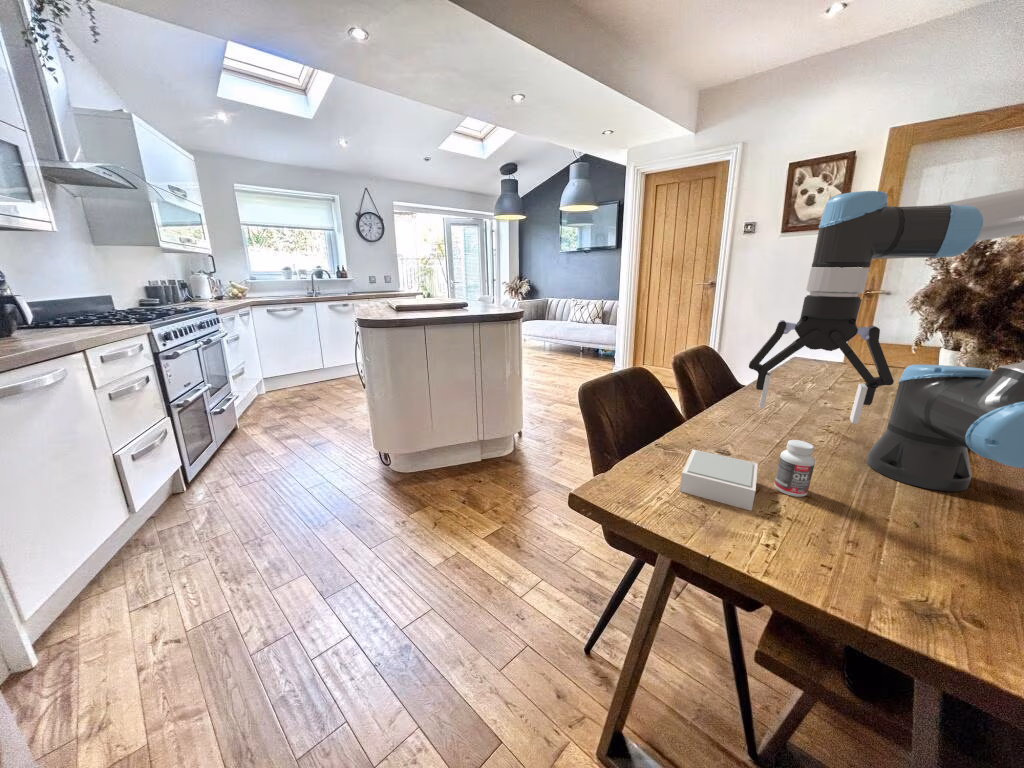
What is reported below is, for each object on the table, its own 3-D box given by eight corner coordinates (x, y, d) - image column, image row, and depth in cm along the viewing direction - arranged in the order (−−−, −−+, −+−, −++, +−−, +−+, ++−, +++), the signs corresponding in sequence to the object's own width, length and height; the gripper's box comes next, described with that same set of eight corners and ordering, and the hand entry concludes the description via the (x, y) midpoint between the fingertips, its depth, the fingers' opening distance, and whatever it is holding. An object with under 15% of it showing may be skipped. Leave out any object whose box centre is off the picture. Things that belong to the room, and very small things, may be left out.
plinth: (754, 481, 79) (758, 462, 78) (751, 510, 69) (755, 489, 68) (690, 466, 85) (692, 447, 84) (679, 491, 75) (682, 471, 74)
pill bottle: (793, 499, 72) (803, 451, 70) (767, 485, 77) (776, 439, 75) (814, 495, 74) (825, 447, 71) (787, 481, 79) (797, 436, 76)
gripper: (929, 296, 62) (892, 421, 68) (748, 291, 75) (730, 396, 81) (946, 299, 56) (903, 435, 62) (746, 292, 69) (726, 406, 75)
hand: (805, 413), depth 71 cm, fingers open, 13 cm apart
